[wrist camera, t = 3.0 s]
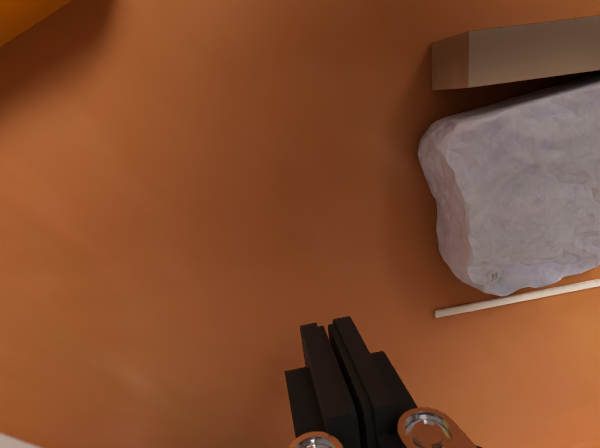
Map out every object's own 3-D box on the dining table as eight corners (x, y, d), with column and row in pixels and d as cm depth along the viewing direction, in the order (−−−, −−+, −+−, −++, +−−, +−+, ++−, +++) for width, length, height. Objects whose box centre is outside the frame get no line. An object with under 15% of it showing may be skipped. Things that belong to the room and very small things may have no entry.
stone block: (603, 214, 23) (638, 40, 18) (683, 258, 19) (759, 50, 14) (420, 269, 23) (403, 110, 18) (461, 325, 19) (455, 140, 14)
